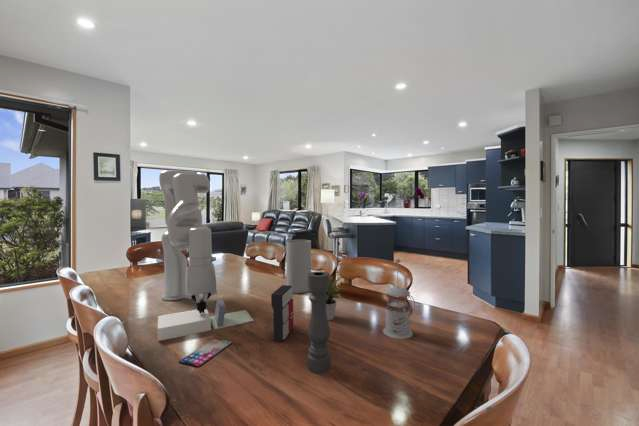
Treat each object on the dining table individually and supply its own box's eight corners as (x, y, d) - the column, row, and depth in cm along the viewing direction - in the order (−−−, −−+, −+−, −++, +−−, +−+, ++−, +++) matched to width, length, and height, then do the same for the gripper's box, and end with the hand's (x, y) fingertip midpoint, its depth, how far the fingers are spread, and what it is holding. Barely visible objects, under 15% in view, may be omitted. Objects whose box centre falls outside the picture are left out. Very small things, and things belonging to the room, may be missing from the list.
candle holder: (307, 361, 79) (306, 271, 78) (329, 360, 79) (328, 270, 78) (308, 374, 72) (307, 277, 72) (332, 373, 73) (331, 276, 72)
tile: (216, 298, 108) (222, 298, 109) (214, 317, 108) (219, 317, 109) (219, 306, 100) (225, 306, 101) (217, 326, 100) (223, 325, 101)
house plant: (354, 313, 112) (354, 273, 112) (342, 327, 100) (342, 281, 99) (321, 308, 118) (321, 269, 118) (306, 320, 106) (305, 277, 105)
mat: (209, 317, 109) (209, 316, 109) (245, 310, 116) (245, 310, 116) (213, 329, 99) (213, 328, 99) (253, 321, 106) (253, 320, 106)
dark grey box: (284, 342, 90) (284, 295, 89) (271, 340, 91) (271, 294, 90) (294, 327, 100) (294, 285, 100) (282, 326, 101) (282, 284, 101)
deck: (158, 327, 101) (158, 316, 101) (206, 318, 109) (206, 307, 109) (157, 341, 91) (157, 328, 91) (210, 330, 98) (210, 318, 98)
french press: (376, 328, 99) (376, 257, 98) (403, 323, 103) (403, 254, 103) (395, 341, 90) (395, 262, 89) (423, 334, 94) (423, 259, 94)
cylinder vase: (310, 293, 138) (310, 242, 137) (285, 294, 138) (284, 242, 137) (311, 286, 150) (311, 239, 150) (288, 286, 151) (287, 239, 150)
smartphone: (234, 341, 90) (198, 367, 76) (234, 343, 90) (199, 369, 76) (214, 337, 92) (177, 361, 78) (214, 339, 92) (177, 364, 78)
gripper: (220, 257, 109) (221, 305, 109) (177, 261, 102) (178, 312, 102) (224, 261, 102) (224, 311, 103) (177, 265, 95) (178, 319, 96)
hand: (201, 312), depth 102 cm, fingers closed
